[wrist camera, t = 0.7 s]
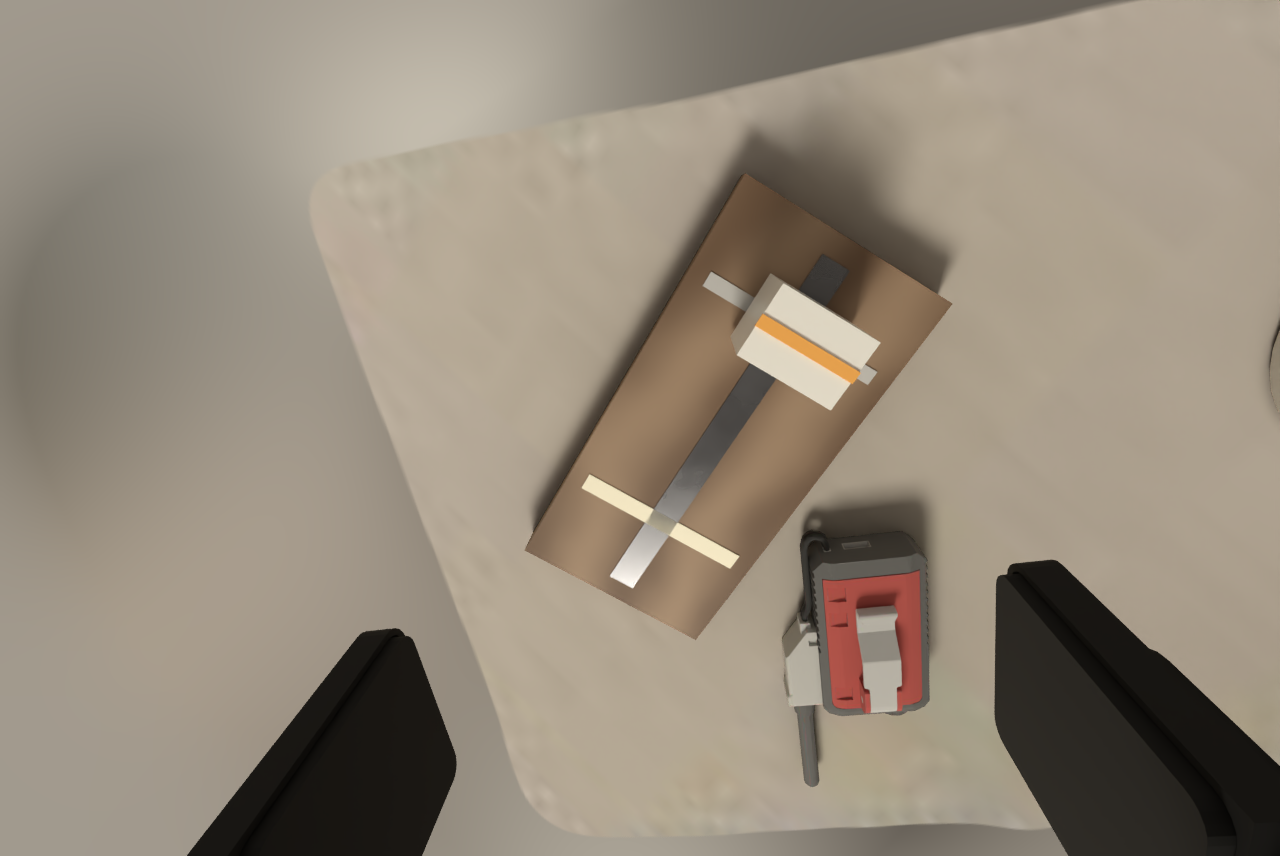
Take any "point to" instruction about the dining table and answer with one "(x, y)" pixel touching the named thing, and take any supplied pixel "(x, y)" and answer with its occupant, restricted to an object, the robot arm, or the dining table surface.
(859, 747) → the dining table surface
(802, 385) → the fader
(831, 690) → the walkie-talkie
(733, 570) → the brown board with strips
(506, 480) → the dining table surface
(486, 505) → the dining table surface
